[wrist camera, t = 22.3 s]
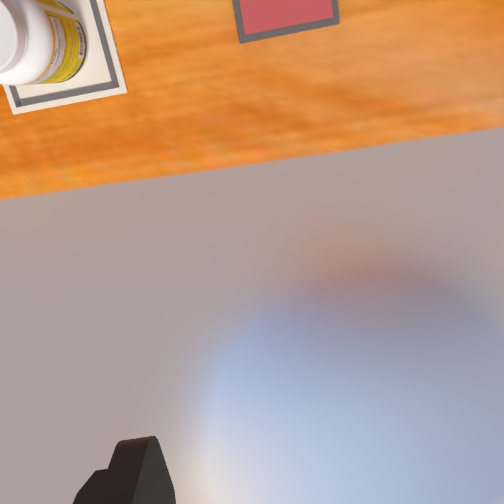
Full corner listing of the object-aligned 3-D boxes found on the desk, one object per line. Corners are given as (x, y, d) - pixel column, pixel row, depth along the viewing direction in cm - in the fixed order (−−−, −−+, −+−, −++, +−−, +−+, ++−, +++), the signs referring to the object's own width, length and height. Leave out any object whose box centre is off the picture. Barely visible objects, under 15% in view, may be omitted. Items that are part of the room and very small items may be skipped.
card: (92, -45, 35) (90, -46, 34) (128, 92, 38) (126, 92, 38) (-32, -18, 35) (-35, -19, 35) (15, 114, 39) (12, 114, 38)
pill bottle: (-4, 30, 36) (-104, 12, 26) (54, -19, 35) (-27, -58, 25) (50, 99, 38) (-24, 107, 28) (106, 54, 37) (51, 46, 27)
